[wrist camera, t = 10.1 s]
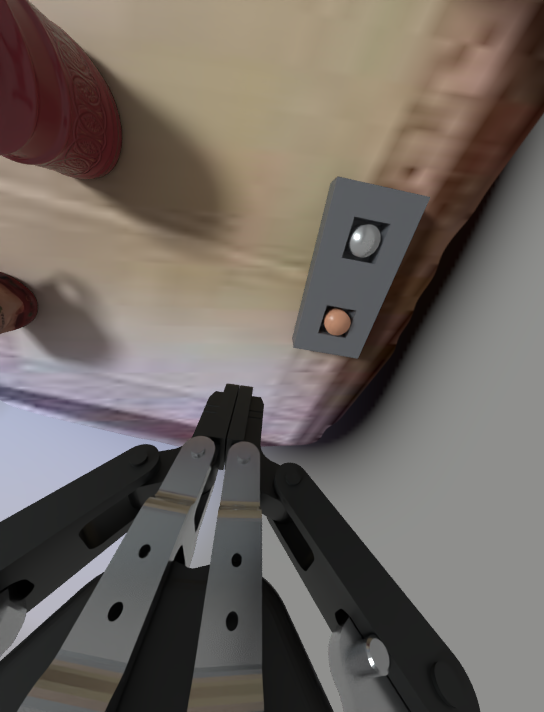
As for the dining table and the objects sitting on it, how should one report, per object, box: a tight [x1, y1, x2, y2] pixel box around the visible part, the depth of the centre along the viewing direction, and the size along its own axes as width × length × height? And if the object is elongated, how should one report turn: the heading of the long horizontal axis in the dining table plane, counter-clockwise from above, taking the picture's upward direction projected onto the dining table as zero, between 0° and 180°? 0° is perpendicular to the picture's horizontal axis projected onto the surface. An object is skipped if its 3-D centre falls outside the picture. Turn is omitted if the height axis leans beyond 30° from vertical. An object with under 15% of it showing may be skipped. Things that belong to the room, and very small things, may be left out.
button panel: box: [292, 177, 430, 358], centre depth 34 cm, size 24×12×4 cm, turn 170°
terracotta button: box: [322, 307, 351, 335], centre depth 36 cm, size 4×4×3 cm
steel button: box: [345, 224, 381, 257], centre depth 30 cm, size 4×4×3 cm
